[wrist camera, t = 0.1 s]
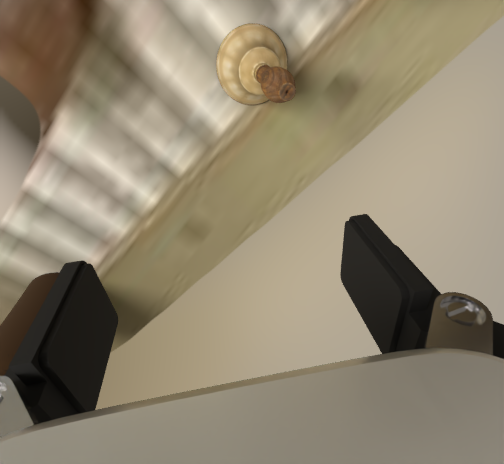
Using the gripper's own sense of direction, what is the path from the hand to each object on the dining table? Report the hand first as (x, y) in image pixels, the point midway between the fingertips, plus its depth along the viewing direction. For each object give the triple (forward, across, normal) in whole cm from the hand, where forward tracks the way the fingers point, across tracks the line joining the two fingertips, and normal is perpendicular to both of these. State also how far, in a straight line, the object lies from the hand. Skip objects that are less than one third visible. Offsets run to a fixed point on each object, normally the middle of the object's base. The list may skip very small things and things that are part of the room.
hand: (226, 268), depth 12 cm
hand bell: (+31, -6, -3) cm, 32 cm away
